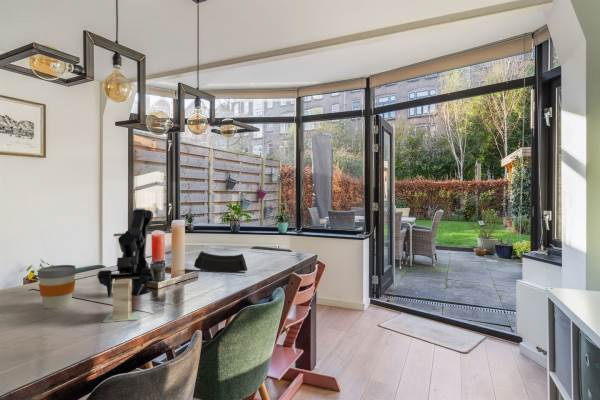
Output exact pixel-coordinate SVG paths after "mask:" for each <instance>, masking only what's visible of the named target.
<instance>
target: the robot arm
mask: <svg viewBox="0 0 600 400" xmlns="http://www.w3.org/2000/svg"><path fill="white" fill-rule="evenodd" d="M131 217H132V218H131V219H132V221H131V224H130V229H128V230H126V231H125V232H124V233H122V234H121V235H120V236H119V237H118V239H117V241H118V245H119V248H120V251H121V253H122V254H121V255H122V256H121V257H117V258H116V267H117V272H116V273H115V272H113V273H112V270H111V269H108V270H107V269H106V270H104V269H103V270H99V272H97V276H96V277H97V278H98V281H99V284H100V285H103V286H104V287H106V290H107V291H106V292H107V297H108V299H110V298H111V295H112V293H113V281H114V280H122V279H132V295H135V296H136V297H139V296H140V295H143V294H147V293H150V292H151V291H150V290H148V284H150V283H151V282H154V280H155V274H154V269H153V268H151V267H150V266H149V263H148V262H147V260H146V248H147V236H148V230H149V227H150V226H152V222H153V220H154V211H151V210H148V209H143V208H139V209H138V208H136V209H133V211H132V216H131Z"/></svg>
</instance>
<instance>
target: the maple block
mask: <svg viewBox="0 0 600 400" xmlns="http://www.w3.org/2000/svg"><path fill="white" fill-rule="evenodd" d="M112 284H113V285H112V314H113V320H115V319H128V318H129V317H130V315H131V314H132V313H133V312H132V310H133V309H132V306H133V305H132V304H133V303H132V301H133V300H132V299H133V297H132V295H133V294H132V279H128V278H127V279H125V278H123V279H115V281H114V282H112Z"/></svg>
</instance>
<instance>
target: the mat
mask: <svg viewBox="0 0 600 400" xmlns="http://www.w3.org/2000/svg"><path fill="white" fill-rule="evenodd" d="M141 313H142V312H141V311H136V312H132V314H131V315H130V317H129V318H128V319H115V320H113V313H110V314H109V313H108V314H107V316H105V318H104V319H103V321H102V322H107V323H116V322H115V321H120V322H129V321H128V320H132V321H137V320H138V318H140V315H141Z"/></svg>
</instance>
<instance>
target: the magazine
mask: <svg viewBox="0 0 600 400" xmlns="http://www.w3.org/2000/svg"><path fill="white" fill-rule="evenodd" d="M246 263H247V262H246V259H245V257H244V254H243V253H241V254H236V255H220V254H211V253H207V252H204V251H203V250H202V251H200V252H199V254H198V256H197V258H196V259H195V261H194V265H193V267H194V268H196V269H199V270H200V272H202V271H206V272H215V273H237V272H238V273H239V272H247V271H248V267H247V264H246Z"/></svg>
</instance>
